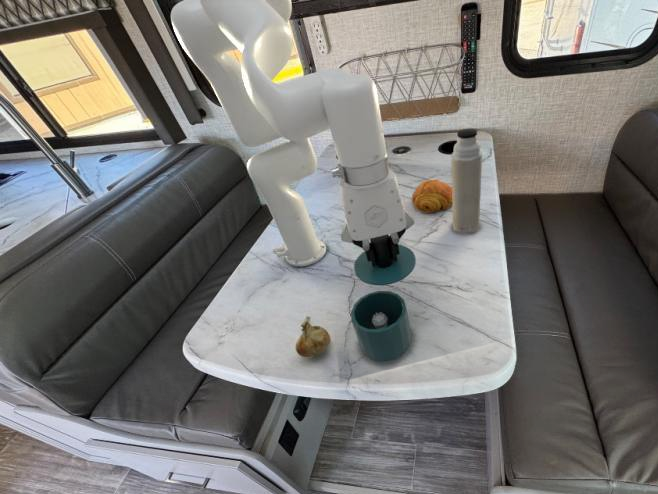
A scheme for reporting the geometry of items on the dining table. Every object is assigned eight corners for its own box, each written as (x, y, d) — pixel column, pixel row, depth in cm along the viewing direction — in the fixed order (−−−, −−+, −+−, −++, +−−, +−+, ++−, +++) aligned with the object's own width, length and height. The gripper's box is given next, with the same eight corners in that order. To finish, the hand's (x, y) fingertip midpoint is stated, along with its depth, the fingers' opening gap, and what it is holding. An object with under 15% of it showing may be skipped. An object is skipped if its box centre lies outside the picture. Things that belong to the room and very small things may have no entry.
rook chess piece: (377, 350, 74) (370, 327, 68) (373, 335, 77) (366, 312, 71) (396, 344, 74) (391, 321, 68) (392, 330, 77) (386, 306, 72)
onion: (292, 356, 76) (279, 334, 71) (316, 332, 80) (306, 309, 75) (316, 370, 73) (304, 348, 67) (340, 344, 77) (330, 321, 71)
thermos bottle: (447, 229, 104) (444, 134, 84) (461, 217, 107) (461, 123, 88) (470, 236, 99) (472, 139, 80) (484, 223, 103) (489, 127, 84)
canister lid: (359, 294, 62) (350, 265, 57) (351, 256, 71) (343, 227, 66) (423, 278, 63) (420, 247, 58) (408, 242, 72) (404, 213, 67)
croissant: (409, 218, 115) (404, 198, 109) (421, 190, 123) (417, 170, 117) (450, 219, 110) (448, 199, 104) (460, 190, 118) (458, 170, 112)
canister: (365, 368, 71) (354, 338, 64) (358, 329, 79) (348, 298, 72) (416, 355, 72) (411, 323, 65) (405, 317, 80) (399, 285, 73)
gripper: (314, 191, 50) (344, 282, 63) (421, 166, 51) (429, 261, 64) (312, 171, 55) (341, 258, 68) (410, 149, 56) (419, 239, 69)
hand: (383, 259), depth 66 cm, fingers closed on canister lid, 3 cm apart
